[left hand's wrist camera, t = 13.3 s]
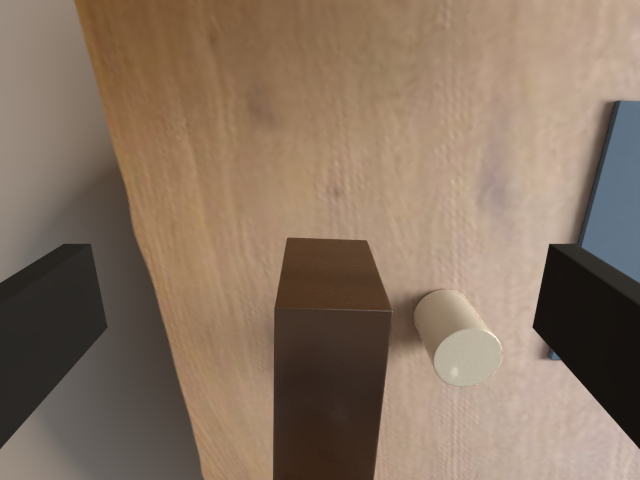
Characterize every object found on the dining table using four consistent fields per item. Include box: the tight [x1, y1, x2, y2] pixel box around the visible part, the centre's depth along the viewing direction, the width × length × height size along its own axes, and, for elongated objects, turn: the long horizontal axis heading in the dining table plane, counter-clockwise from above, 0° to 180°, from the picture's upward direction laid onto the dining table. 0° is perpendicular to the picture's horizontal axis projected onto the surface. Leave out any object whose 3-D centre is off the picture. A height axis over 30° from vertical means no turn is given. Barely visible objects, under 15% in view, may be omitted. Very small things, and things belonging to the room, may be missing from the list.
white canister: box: [414, 289, 502, 387], centre depth 42 cm, size 6×6×8 cm
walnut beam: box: [273, 238, 393, 480], centre depth 26 cm, size 26×5×9 cm, turn 178°
